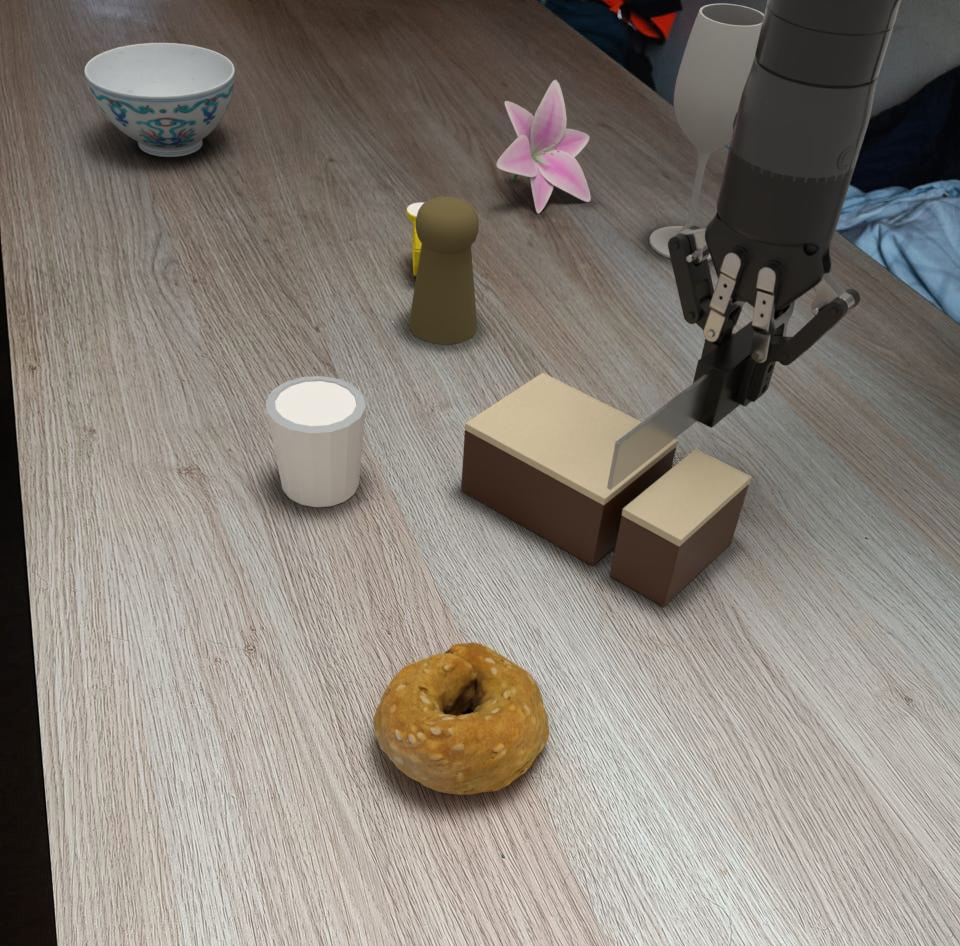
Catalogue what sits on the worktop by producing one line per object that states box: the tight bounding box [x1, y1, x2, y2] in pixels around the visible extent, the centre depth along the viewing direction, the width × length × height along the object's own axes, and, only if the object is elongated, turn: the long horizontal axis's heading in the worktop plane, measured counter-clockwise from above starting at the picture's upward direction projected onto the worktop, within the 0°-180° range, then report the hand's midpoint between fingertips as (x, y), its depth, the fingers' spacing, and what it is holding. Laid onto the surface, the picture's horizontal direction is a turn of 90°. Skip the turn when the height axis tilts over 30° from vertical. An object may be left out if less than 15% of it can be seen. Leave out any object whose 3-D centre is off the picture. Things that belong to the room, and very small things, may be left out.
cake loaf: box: [460, 372, 679, 566], centre depth 79 cm, size 9×12×6 cm
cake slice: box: [609, 448, 752, 607], centre depth 75 cm, size 9×4×6 cm, turn 141°
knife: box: [607, 319, 754, 490], centre depth 74 cm, size 19×2×4 cm, turn 141°
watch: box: [406, 201, 425, 278], centre depth 101 cm, size 6×3×6 cm, turn 4°
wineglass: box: [648, 3, 764, 262], centre depth 103 cm, size 8×8×21 cm
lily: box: [495, 79, 592, 214], centre depth 114 cm, size 12×12×10 cm
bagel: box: [372, 642, 550, 796], centre depth 64 cm, size 10×11×5 cm
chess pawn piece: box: [408, 196, 480, 345], centre depth 93 cm, size 6×6×11 cm
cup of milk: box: [265, 375, 367, 508], centre depth 78 cm, size 7×7×7 cm
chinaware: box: [84, 42, 236, 158], centre depth 116 cm, size 15×15×8 cm
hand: (729, 391), depth 78 cm, fingers closed on knife, 2 cm apart
